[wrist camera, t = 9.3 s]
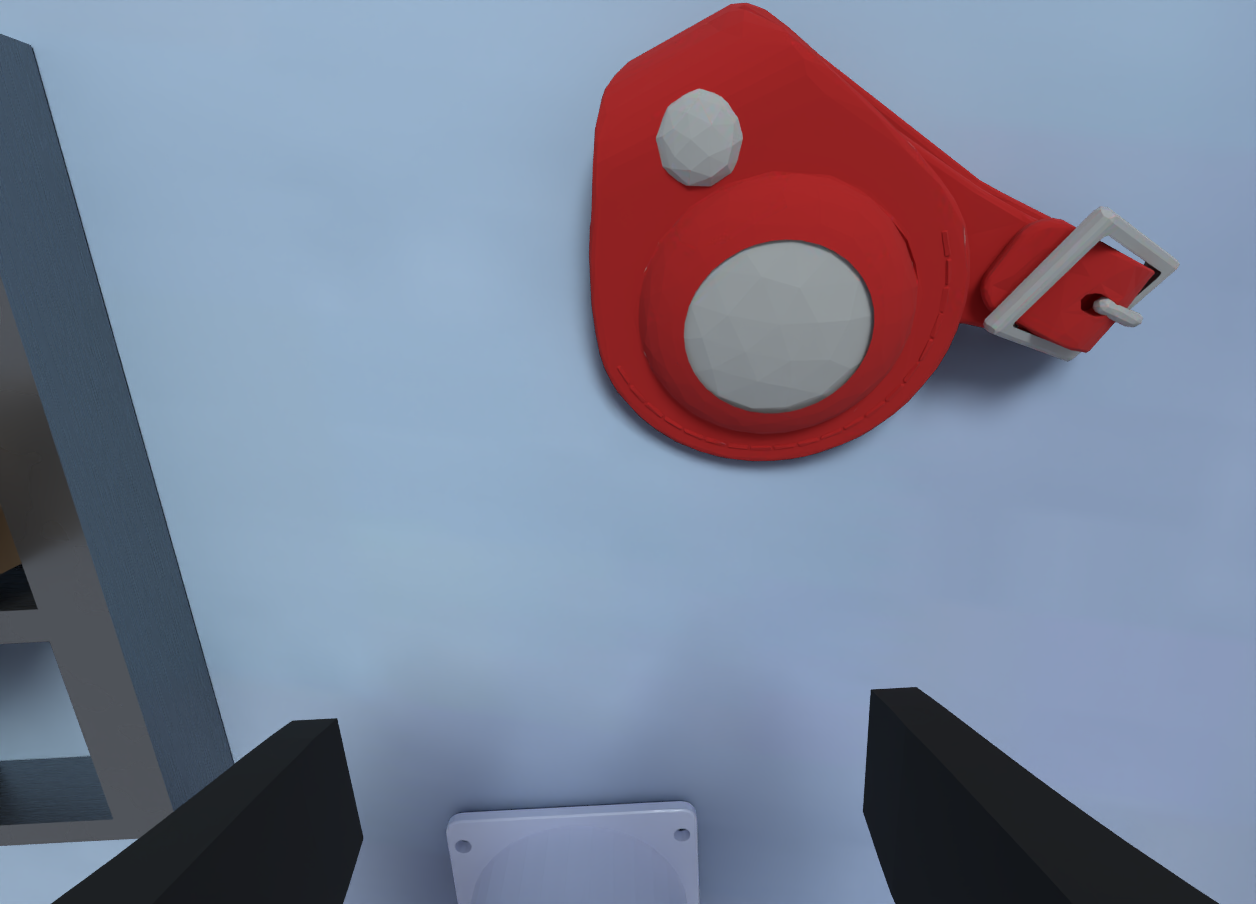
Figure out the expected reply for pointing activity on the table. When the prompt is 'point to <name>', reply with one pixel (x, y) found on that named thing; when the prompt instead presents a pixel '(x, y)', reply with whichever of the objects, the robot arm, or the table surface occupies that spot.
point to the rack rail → (85, 521)
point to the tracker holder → (811, 248)
